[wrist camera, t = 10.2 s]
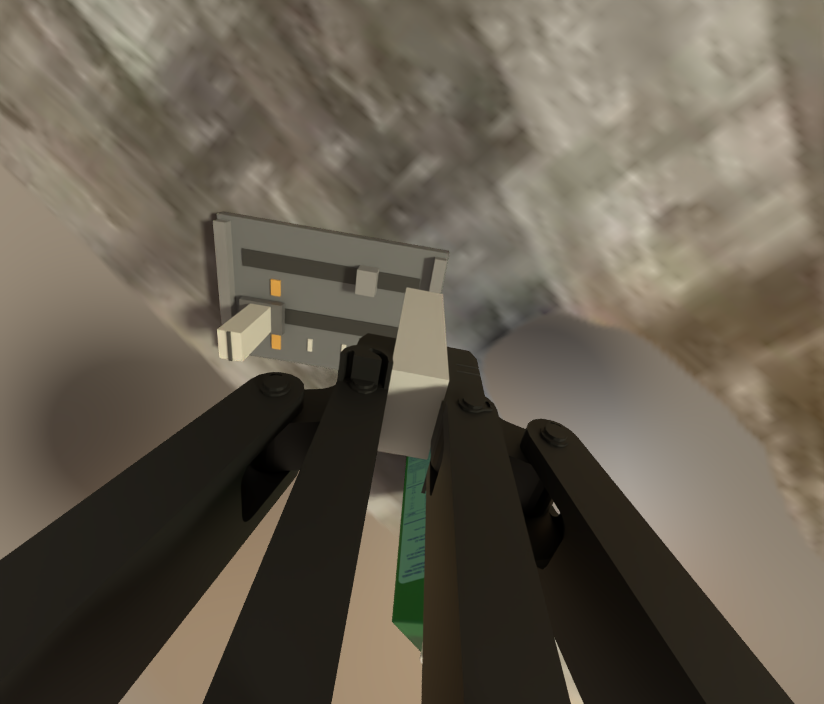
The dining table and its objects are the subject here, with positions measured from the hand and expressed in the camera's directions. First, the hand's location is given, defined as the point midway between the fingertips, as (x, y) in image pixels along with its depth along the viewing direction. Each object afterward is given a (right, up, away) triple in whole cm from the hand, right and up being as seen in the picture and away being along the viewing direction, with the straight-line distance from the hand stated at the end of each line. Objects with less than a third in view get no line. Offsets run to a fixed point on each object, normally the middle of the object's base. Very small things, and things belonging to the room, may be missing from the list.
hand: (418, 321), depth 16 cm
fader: (-17, +3, +27) cm, 32 cm away
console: (-9, +4, +27) cm, 29 cm away
